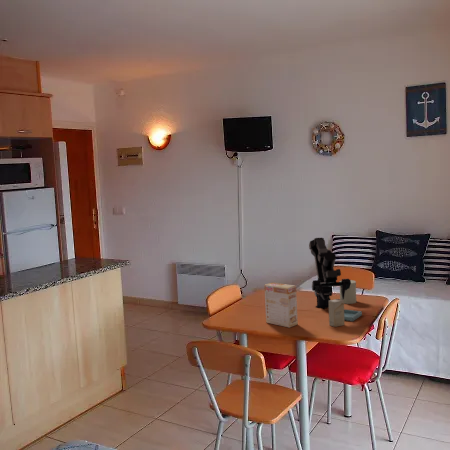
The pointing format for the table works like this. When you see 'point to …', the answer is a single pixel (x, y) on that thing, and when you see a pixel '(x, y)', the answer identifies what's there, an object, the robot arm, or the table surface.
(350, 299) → the can
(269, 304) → the coffeecake box
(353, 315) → the tray
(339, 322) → the skincare box
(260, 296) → the table surface
